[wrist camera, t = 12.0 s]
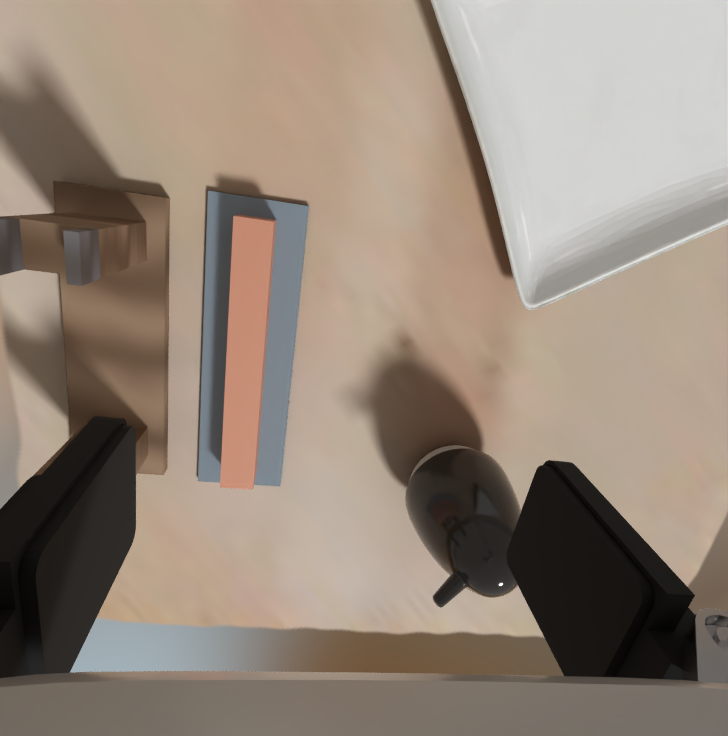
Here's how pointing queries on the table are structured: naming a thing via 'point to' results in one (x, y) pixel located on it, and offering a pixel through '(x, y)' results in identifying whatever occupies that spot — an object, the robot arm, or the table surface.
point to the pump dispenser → (464, 519)
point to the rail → (246, 347)
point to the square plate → (595, 128)
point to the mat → (279, 333)
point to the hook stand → (106, 305)
